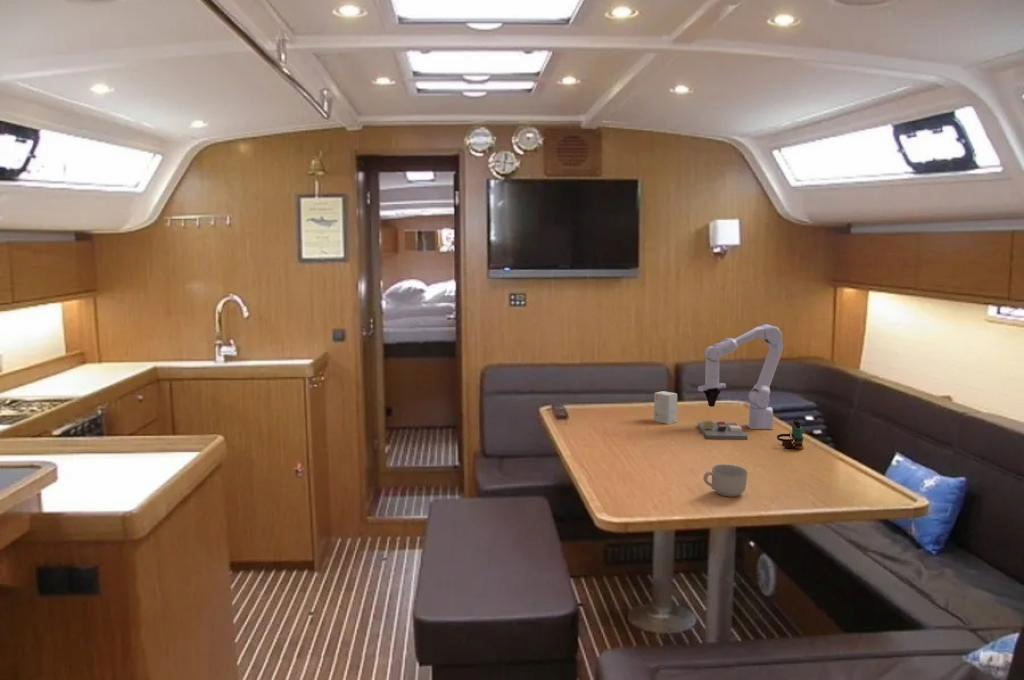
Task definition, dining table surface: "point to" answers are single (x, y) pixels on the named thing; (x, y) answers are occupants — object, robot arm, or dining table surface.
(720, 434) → the switch panel
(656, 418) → the small box
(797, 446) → the figurine with basket
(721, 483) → the teacup
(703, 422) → the block
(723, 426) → the rocker switch
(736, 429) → the push button
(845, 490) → the dining table surface
